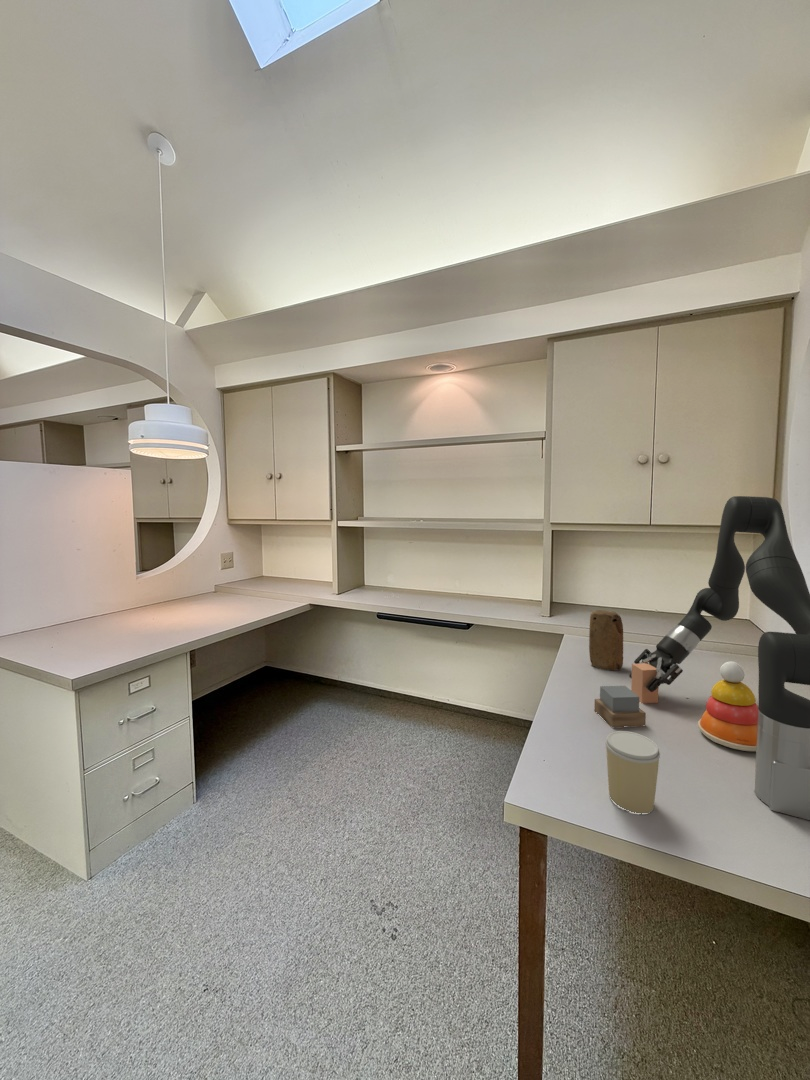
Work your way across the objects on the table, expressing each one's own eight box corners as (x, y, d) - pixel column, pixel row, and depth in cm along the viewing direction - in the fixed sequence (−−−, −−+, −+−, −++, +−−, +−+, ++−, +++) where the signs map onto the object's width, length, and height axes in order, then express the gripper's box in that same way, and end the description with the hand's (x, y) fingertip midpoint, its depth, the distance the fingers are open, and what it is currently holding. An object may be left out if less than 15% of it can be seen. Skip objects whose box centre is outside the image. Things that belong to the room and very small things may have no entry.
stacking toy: (763, 732, 105) (767, 657, 103) (778, 763, 92) (782, 678, 91) (695, 719, 112) (697, 648, 110) (700, 745, 100) (703, 667, 98)
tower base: (645, 727, 109) (645, 712, 109) (612, 729, 108) (612, 714, 108) (624, 710, 118) (625, 697, 118) (594, 712, 117) (594, 698, 117)
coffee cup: (639, 784, 87) (641, 729, 86) (669, 817, 77) (671, 756, 76) (595, 786, 86) (596, 730, 85) (620, 819, 77) (621, 758, 76)
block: (587, 666, 149) (587, 612, 148) (593, 660, 155) (594, 607, 153) (620, 673, 142) (621, 616, 141) (625, 666, 148) (626, 612, 147)
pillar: (658, 702, 121) (658, 669, 121) (641, 703, 121) (642, 670, 120) (646, 694, 126) (647, 663, 126) (631, 695, 126) (631, 663, 125)
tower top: (639, 711, 109) (639, 696, 109) (612, 712, 109) (612, 697, 109) (624, 699, 116) (625, 685, 116) (600, 700, 116) (600, 686, 116)
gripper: (653, 628, 130) (617, 666, 130) (688, 643, 116) (647, 686, 116) (668, 644, 131) (633, 682, 131) (705, 661, 117) (665, 703, 117)
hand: (639, 684), depth 123 cm, fingers open, 7 cm apart
